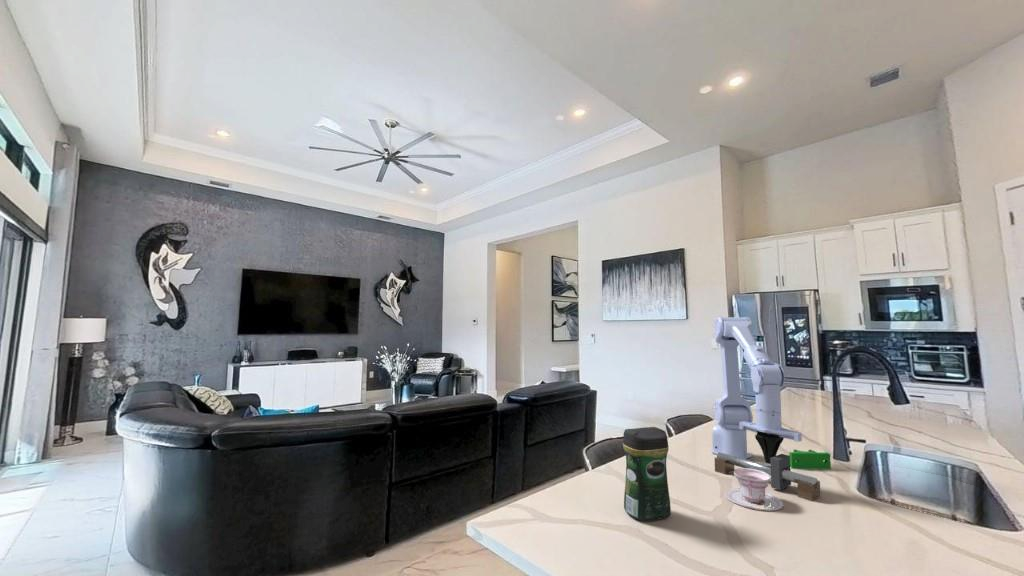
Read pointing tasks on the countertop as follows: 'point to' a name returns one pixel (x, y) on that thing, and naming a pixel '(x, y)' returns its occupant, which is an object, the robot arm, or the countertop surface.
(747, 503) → the teacup
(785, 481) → the collar
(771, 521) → the countertop surface
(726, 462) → the pipe rig
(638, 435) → the coffee jar
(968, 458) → the countertop surface
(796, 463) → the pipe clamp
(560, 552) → the countertop surface
